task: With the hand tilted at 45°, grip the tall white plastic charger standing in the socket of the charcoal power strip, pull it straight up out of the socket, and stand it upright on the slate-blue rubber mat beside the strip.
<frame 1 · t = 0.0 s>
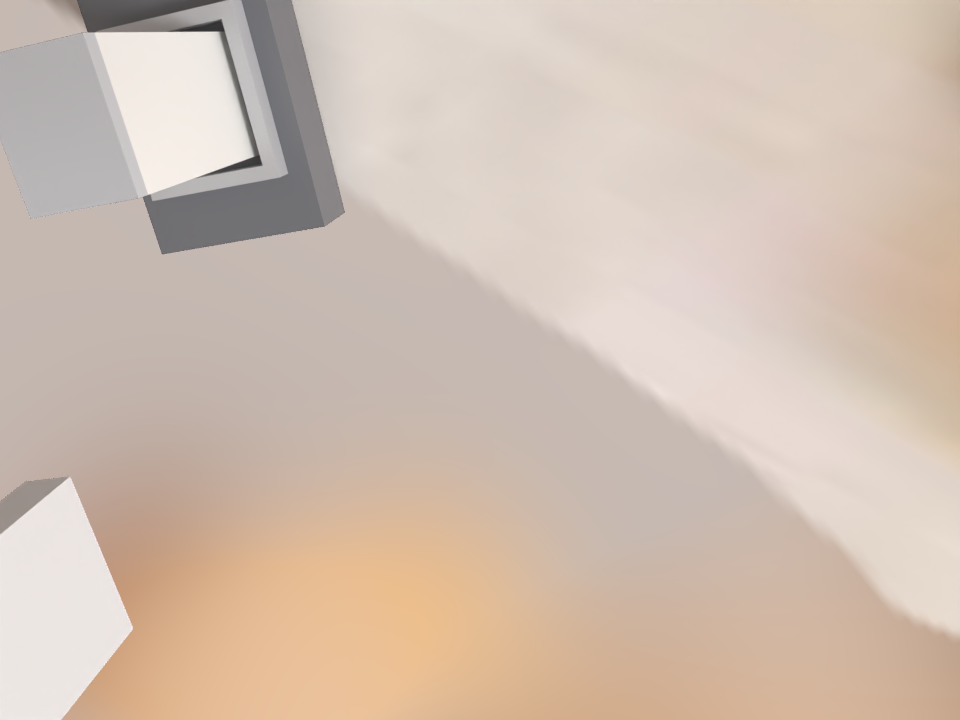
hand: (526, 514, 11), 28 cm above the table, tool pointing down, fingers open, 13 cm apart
charger: (200, 103, 35), point 3 cm above the table, touching power strip
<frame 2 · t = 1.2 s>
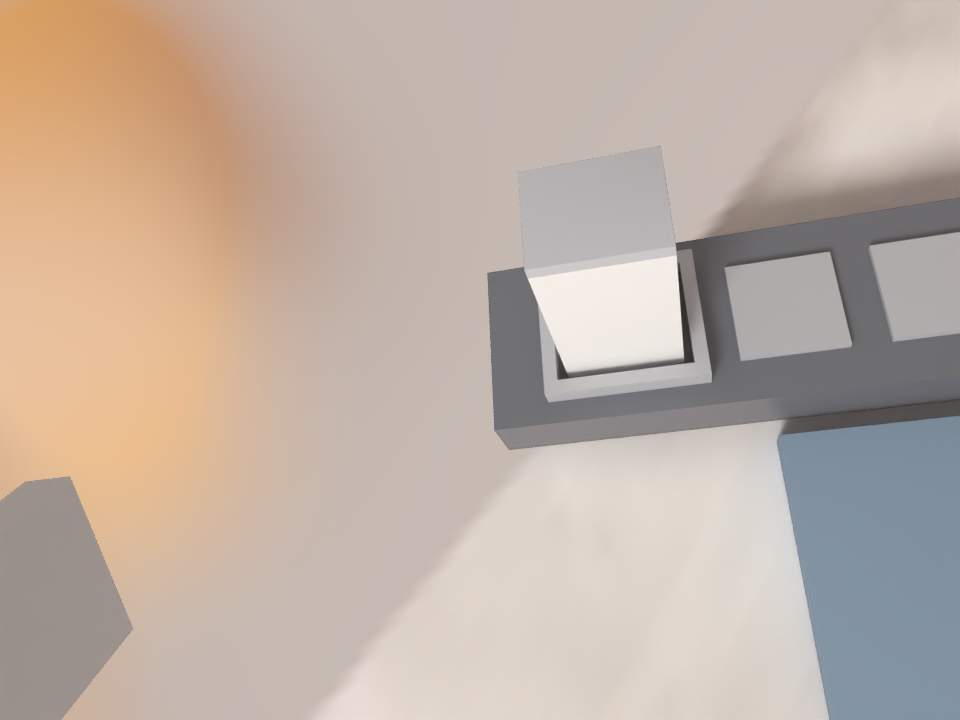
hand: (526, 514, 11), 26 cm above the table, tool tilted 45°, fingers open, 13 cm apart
charger: (621, 330, 37), point 3 cm above the table, touching power strip
power strip: (757, 339, 38), on the table
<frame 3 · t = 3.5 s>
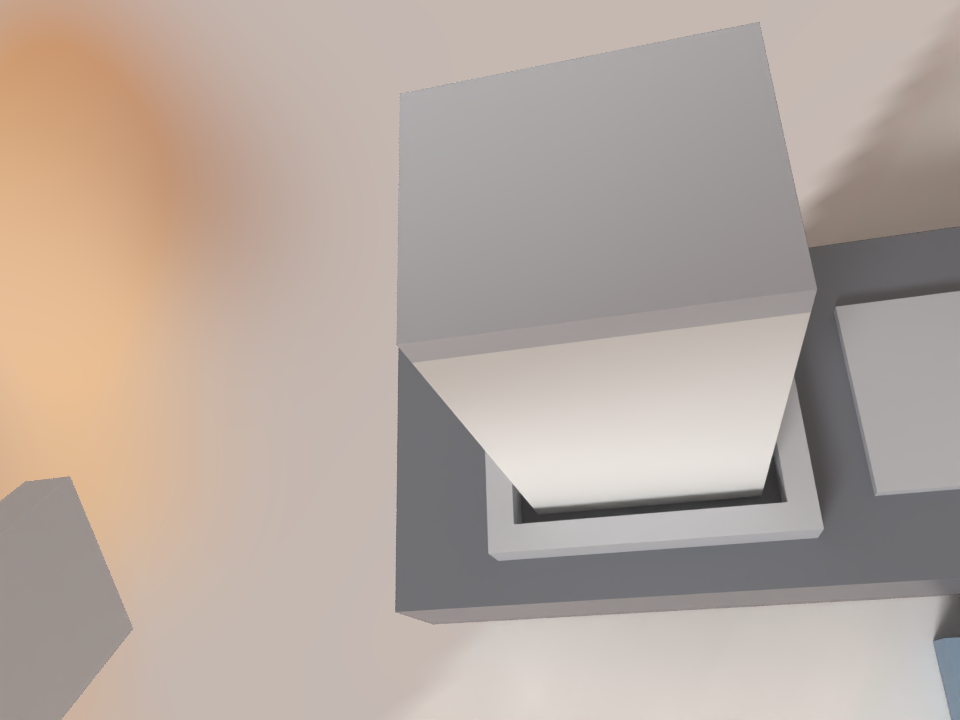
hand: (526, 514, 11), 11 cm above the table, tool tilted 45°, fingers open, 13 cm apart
charger: (637, 422, 20), point 3 cm above the table, touching power strip
power strip: (884, 434, 21), on the table
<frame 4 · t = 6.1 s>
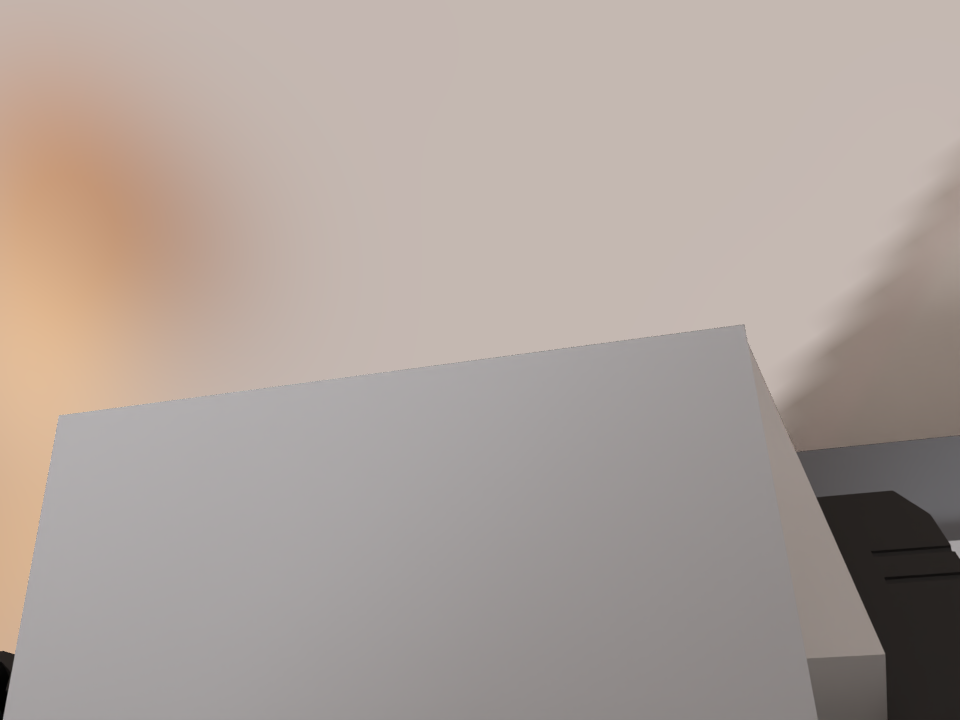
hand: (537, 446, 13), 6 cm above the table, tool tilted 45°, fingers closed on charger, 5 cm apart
charger: (581, 707, 14), point 3 cm above the table, touching gripper, power strip
power strip: (924, 695, 15), on the table
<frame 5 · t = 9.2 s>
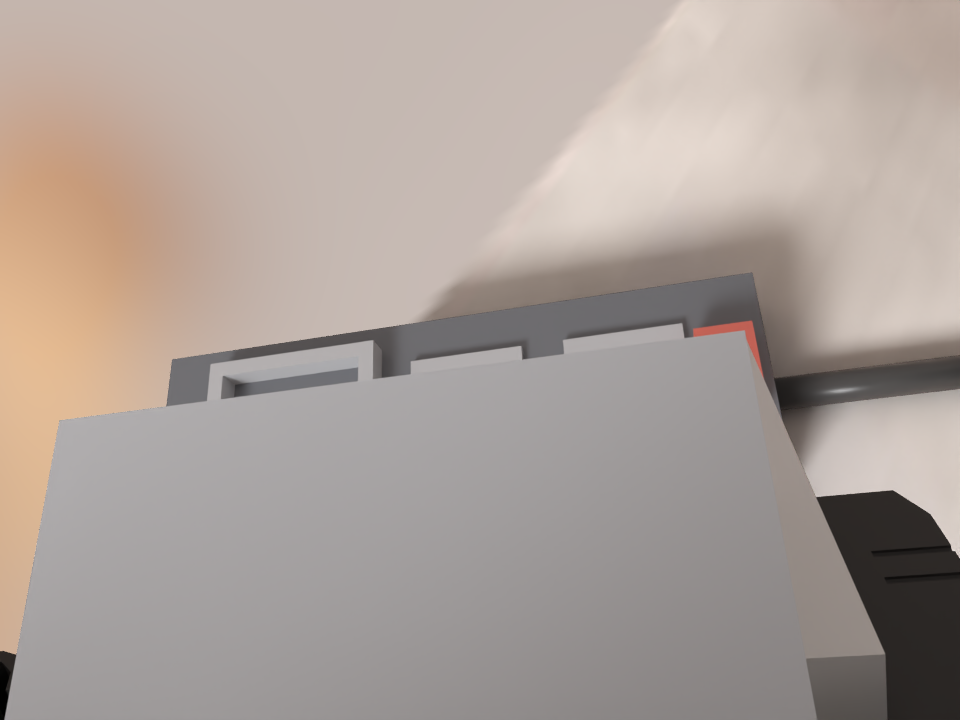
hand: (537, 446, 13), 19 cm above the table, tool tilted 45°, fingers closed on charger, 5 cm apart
charger: (581, 710, 14), point 16 cm above the table, touching gripper
power strip: (463, 437, 34), on the table
when the fingers open (5 cm above the table, at t = 12.5 s): charger drops 1 cm, resting on mat.
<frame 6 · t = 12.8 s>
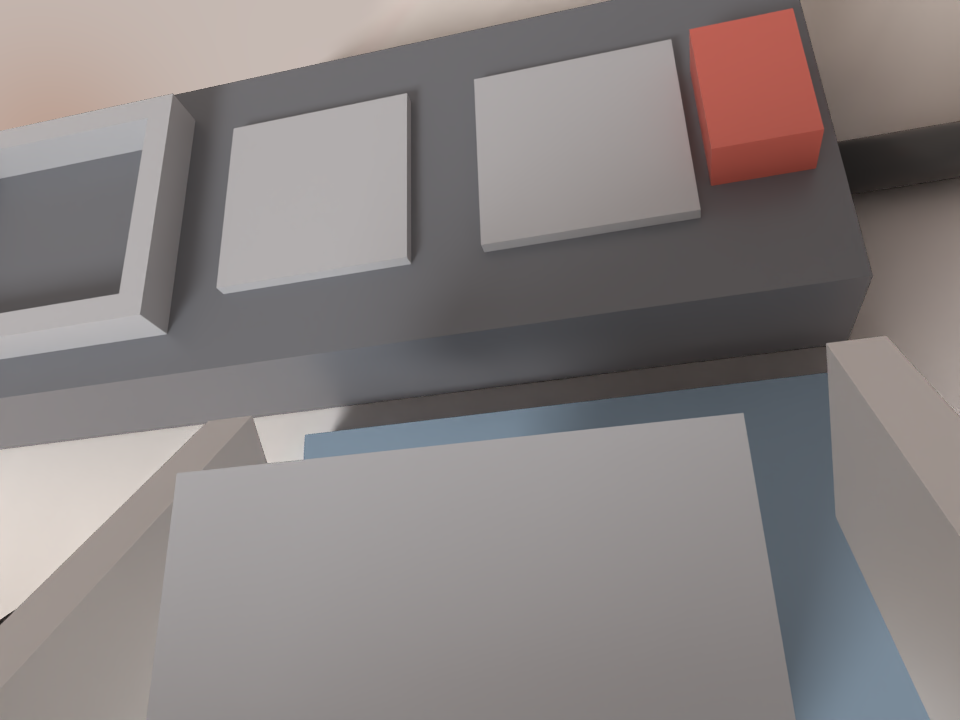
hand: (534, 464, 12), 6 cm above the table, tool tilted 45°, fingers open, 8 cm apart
charger: (594, 712, 15), point 1 cm above the table, touching mat
mat: (597, 709, 16), on the table
power strip: (330, 266, 22), on the table
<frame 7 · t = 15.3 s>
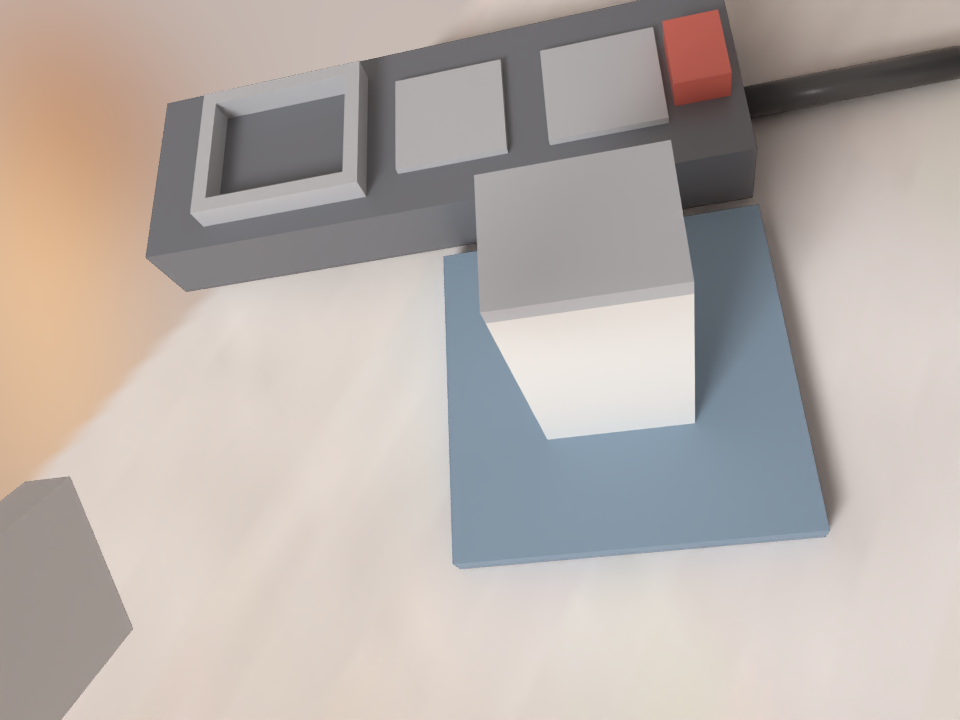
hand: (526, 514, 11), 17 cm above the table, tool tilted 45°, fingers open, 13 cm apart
charger: (613, 377, 29), point 1 cm above the table, touching mat
mat: (615, 386, 30), on the table
power strip: (446, 168, 36), on the table
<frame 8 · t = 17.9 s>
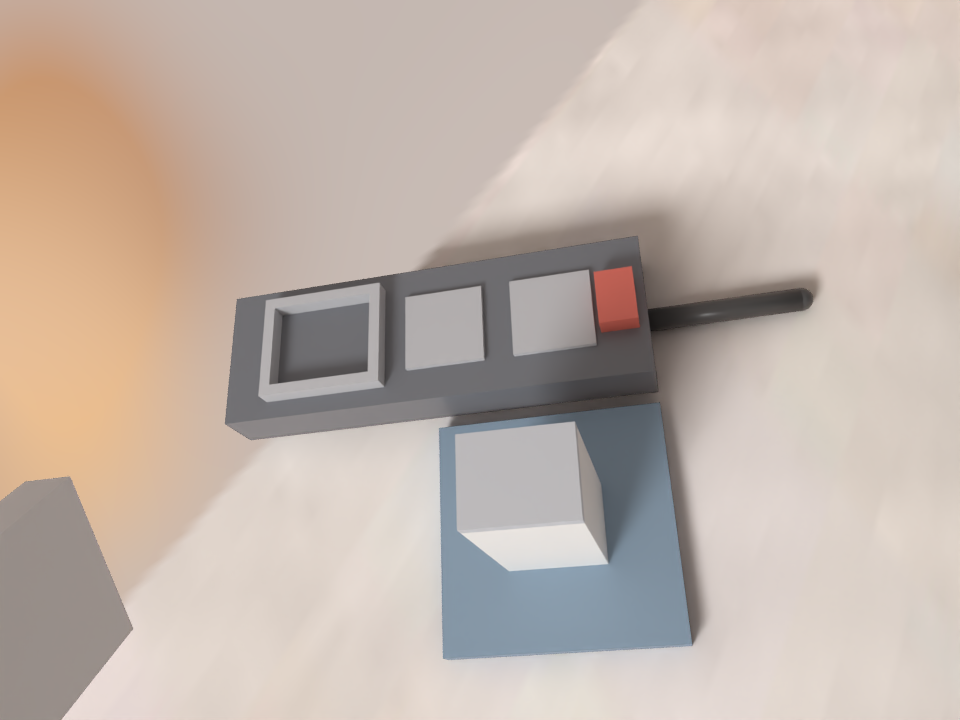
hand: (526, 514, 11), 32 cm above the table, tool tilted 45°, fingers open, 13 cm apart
charger: (555, 527, 42), point 1 cm above the table, touching mat
mat: (557, 530, 43), on the table
power strip: (442, 353, 48), on the table
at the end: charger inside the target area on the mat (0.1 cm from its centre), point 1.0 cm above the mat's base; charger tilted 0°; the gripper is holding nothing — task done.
